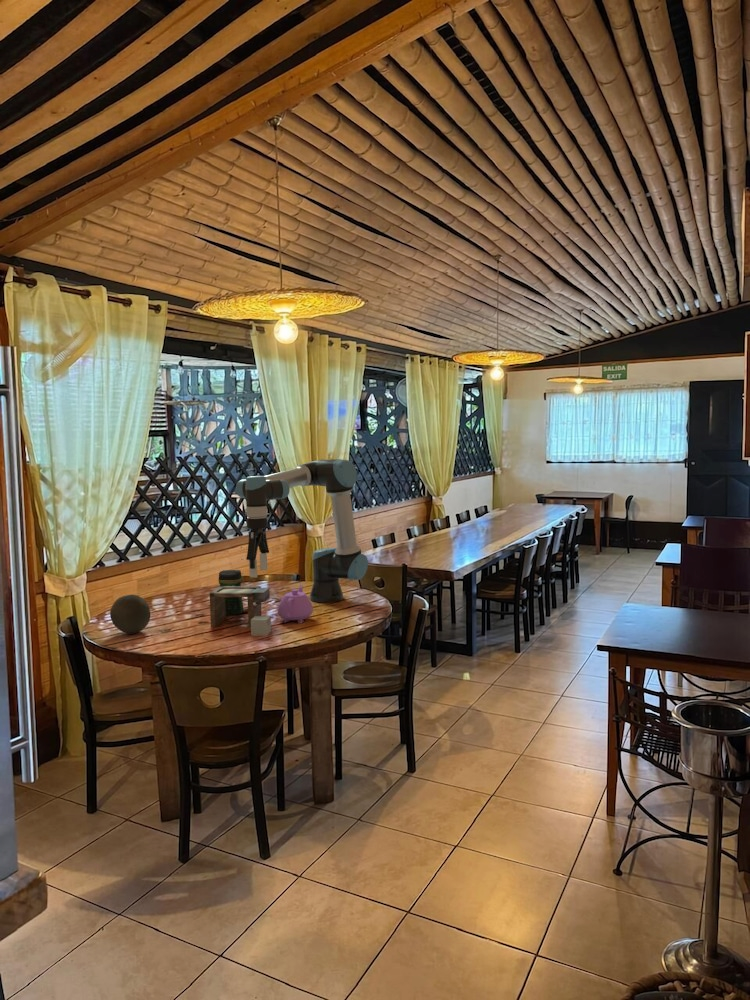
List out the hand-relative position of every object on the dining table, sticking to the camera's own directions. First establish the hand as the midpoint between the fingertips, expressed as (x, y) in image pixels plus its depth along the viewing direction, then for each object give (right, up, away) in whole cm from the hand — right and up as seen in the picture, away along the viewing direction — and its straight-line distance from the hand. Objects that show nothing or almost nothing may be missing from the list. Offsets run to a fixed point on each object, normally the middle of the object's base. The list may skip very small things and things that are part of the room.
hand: (258, 573), depth 254 cm
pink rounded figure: (+12, -21, +21) cm, 32 cm away
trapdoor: (-9, -12, +16) cm, 22 cm away
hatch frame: (-12, -22, +17) cm, 30 cm away
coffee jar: (-17, -21, +33) cm, 42 cm away
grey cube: (+1, -23, +2) cm, 23 cm away
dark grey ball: (-49, -24, +4) cm, 55 cm away
